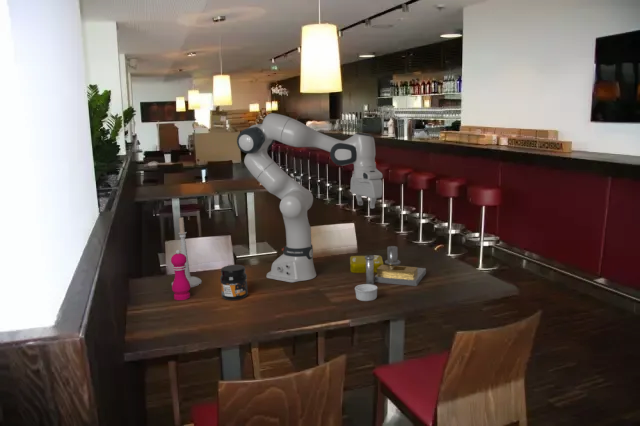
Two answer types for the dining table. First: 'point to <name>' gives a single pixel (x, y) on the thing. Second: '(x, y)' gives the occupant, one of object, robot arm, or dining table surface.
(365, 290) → the ramekin
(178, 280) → the pepper mill
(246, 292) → the supplement container
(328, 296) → the dining table surface
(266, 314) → the dining table surface
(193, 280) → the candlestick
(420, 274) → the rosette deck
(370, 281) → the steel pin
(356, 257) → the element tile
